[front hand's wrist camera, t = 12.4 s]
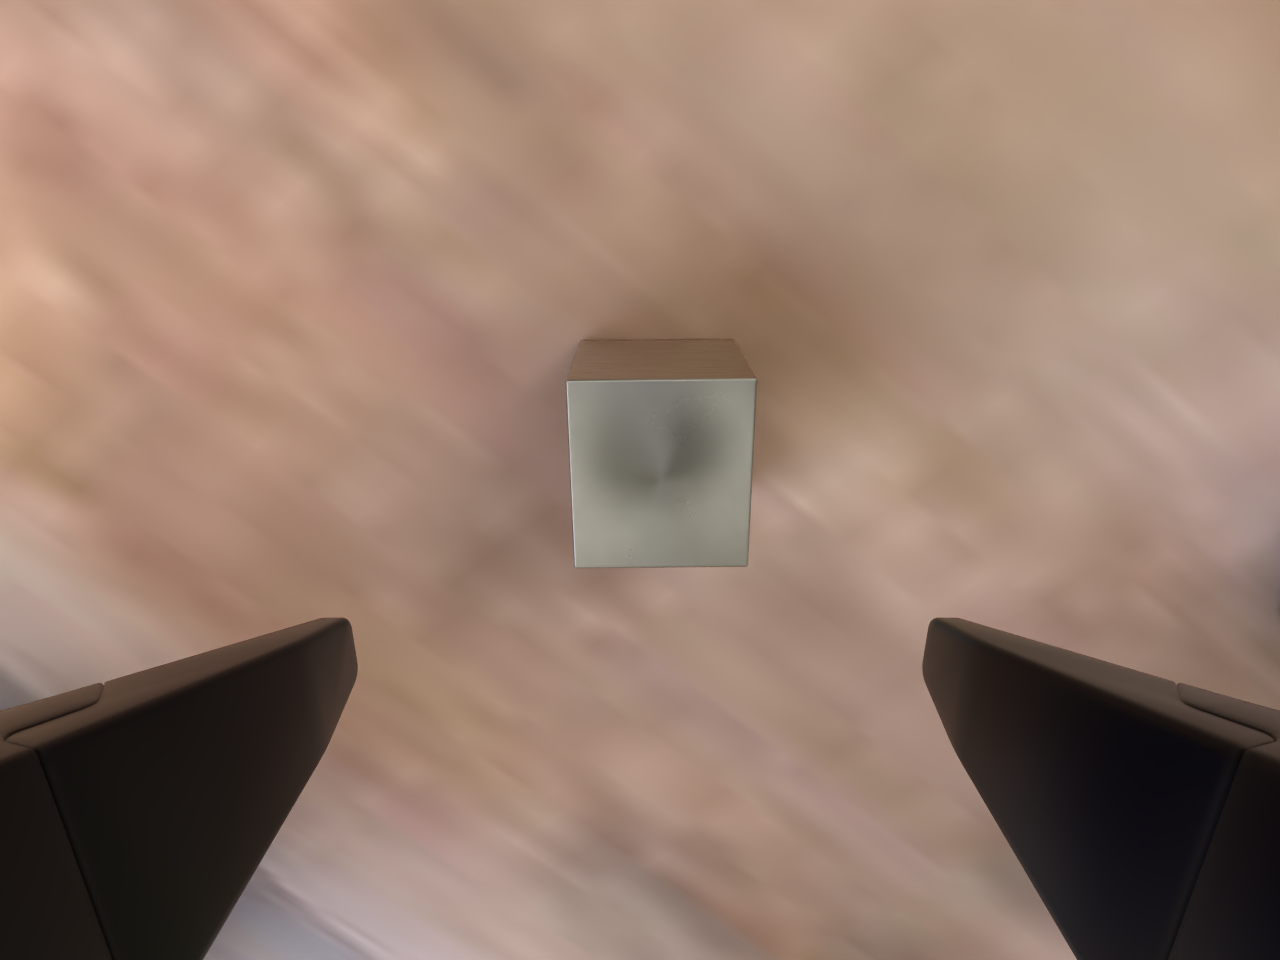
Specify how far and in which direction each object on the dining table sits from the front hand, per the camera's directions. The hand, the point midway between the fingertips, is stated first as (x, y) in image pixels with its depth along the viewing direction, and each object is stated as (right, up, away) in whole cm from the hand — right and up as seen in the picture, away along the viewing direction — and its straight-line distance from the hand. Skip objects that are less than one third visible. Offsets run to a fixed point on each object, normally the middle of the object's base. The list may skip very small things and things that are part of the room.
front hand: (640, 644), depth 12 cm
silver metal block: (0, +4, +11) cm, 12 cm away
